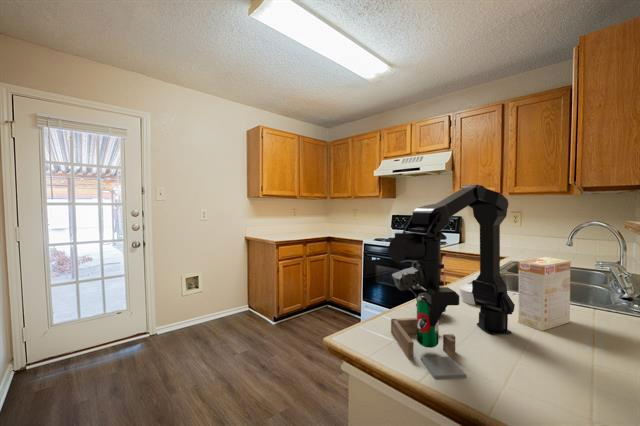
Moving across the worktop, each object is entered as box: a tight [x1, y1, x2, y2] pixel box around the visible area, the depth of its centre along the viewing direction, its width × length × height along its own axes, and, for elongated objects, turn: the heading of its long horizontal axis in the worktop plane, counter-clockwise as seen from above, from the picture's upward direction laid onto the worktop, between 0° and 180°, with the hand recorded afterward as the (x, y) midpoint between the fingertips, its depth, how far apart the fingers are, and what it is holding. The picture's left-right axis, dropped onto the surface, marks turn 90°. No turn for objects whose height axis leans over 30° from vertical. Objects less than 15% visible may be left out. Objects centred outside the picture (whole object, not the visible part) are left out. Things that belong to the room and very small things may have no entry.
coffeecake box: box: [517, 256, 571, 332], centre depth 85 cm, size 15×7×20 cm, turn 113°
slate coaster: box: [420, 356, 467, 379], centre depth 61 cm, size 7×7×1 cm
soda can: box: [416, 293, 440, 349], centre depth 68 cm, size 5×5×12 cm
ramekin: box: [458, 283, 476, 306], centre depth 104 cm, size 11×11×5 cm
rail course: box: [390, 317, 456, 360], centre depth 72 cm, size 13×14×4 cm
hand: (427, 321), depth 68 cm, fingers closed on soda can, 5 cm apart
